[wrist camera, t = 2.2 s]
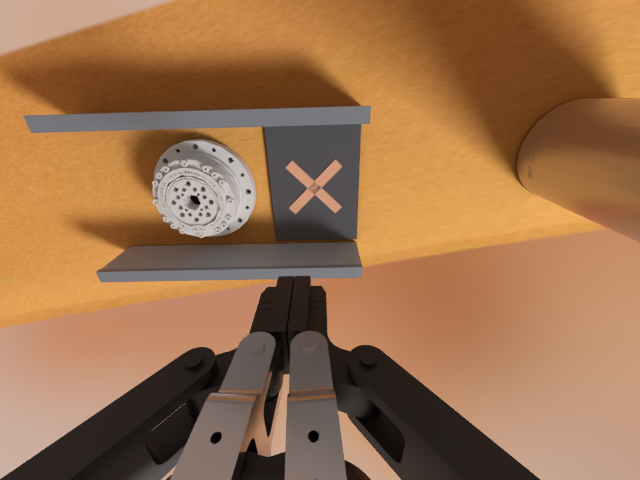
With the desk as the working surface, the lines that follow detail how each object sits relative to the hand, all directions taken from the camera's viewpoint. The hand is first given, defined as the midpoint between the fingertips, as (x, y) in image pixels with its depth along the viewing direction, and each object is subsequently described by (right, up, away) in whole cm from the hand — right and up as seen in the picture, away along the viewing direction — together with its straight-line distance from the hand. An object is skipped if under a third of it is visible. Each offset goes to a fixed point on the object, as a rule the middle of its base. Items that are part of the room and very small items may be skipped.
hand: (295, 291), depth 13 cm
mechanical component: (-11, +8, +16) cm, 21 cm away
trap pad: (+1, +8, +16) cm, 18 cm away
